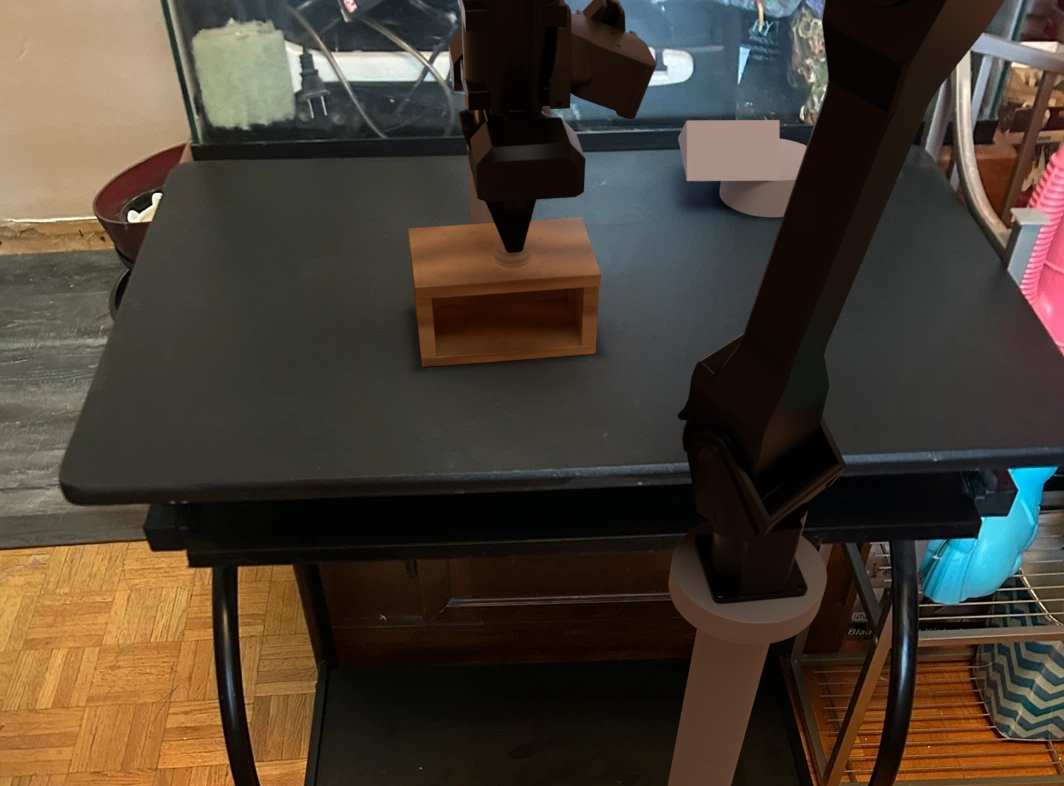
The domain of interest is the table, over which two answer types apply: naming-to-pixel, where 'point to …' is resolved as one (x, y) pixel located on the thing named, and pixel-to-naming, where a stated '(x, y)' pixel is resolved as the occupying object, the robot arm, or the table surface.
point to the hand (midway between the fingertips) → (512, 244)
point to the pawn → (511, 256)
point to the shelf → (504, 294)
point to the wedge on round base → (743, 162)
